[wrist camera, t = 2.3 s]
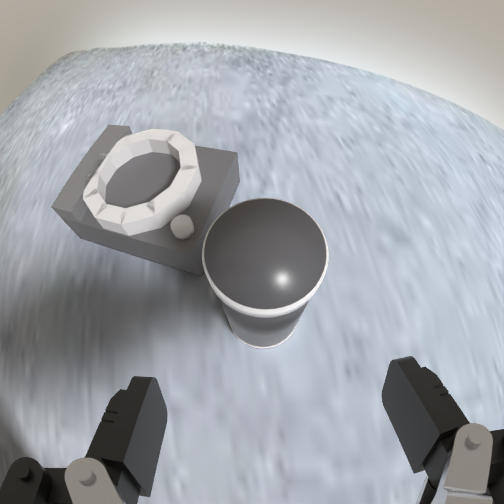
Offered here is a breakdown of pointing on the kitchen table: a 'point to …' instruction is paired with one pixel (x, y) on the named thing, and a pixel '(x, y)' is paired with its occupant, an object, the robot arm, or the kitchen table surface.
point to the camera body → (149, 195)
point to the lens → (264, 267)
